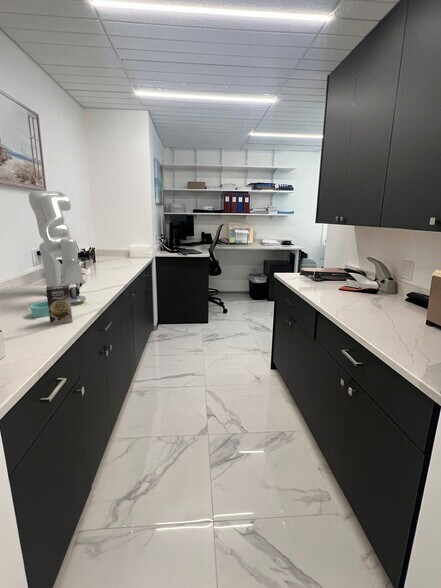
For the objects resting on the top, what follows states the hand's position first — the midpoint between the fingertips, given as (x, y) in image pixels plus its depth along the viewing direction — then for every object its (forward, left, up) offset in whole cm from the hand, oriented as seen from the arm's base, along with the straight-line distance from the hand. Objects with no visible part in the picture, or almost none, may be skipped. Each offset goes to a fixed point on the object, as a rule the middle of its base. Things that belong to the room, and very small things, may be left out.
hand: (74, 295), depth 165 cm
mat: (+1, 0, -5) cm, 5 cm away
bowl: (+10, -16, -5) cm, 19 cm away
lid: (0, 0, -2) cm, 2 cm away
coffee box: (+26, -12, -5) cm, 29 cm away
